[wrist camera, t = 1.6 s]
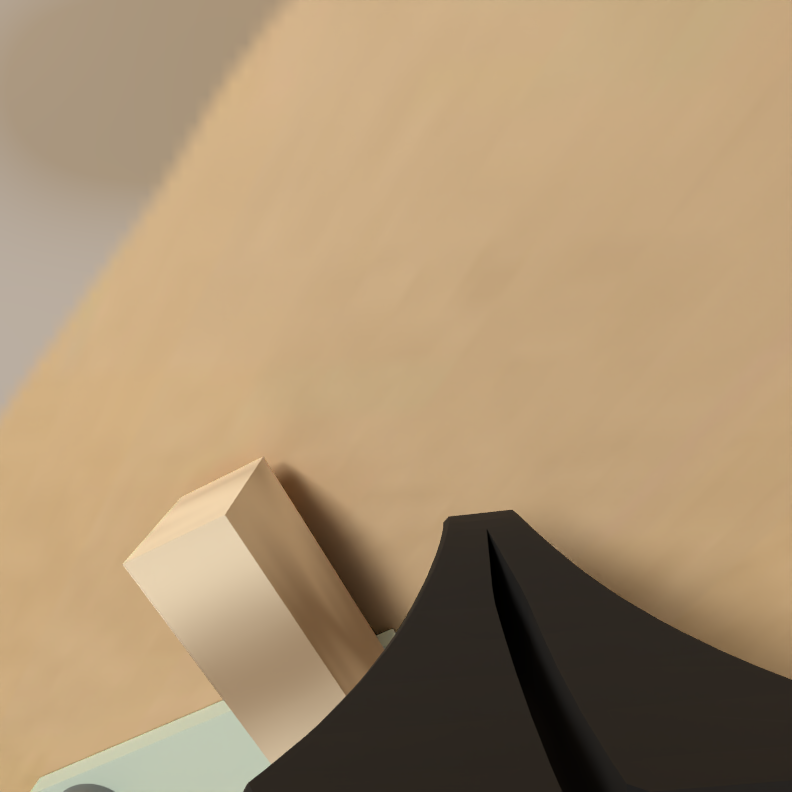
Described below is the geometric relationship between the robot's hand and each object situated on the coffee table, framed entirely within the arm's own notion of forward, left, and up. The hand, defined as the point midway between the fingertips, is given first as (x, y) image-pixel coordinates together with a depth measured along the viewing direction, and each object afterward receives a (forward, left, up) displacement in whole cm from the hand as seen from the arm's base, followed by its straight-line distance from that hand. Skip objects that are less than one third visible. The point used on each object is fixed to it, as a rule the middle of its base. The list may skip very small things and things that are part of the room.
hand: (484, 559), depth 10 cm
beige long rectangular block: (-2, +5, -4) cm, 7 cm away
